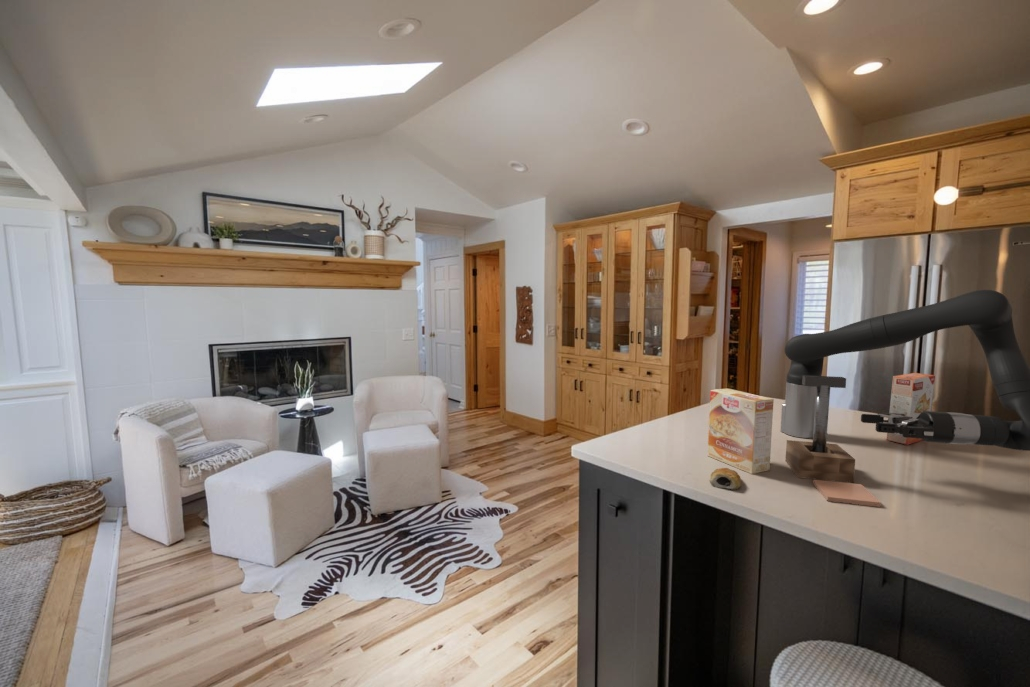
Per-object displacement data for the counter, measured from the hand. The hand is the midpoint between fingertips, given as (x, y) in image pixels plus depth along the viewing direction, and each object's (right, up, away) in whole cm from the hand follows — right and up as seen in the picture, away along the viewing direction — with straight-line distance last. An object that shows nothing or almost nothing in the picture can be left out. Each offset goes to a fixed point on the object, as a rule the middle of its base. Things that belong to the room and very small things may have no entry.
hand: (868, 422), depth 115 cm
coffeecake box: (-28, -13, +11) cm, 33 cm away
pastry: (-37, -15, -2) cm, 40 cm away
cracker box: (+36, -11, +30) cm, 47 cm away
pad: (-13, -15, -9) cm, 22 cm away
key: (-10, -12, +4) cm, 16 cm away
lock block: (-10, -14, +5) cm, 18 cm away
